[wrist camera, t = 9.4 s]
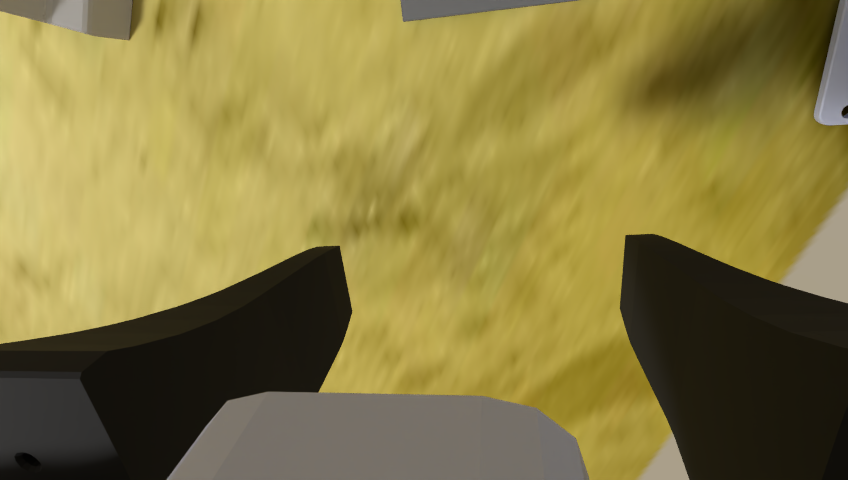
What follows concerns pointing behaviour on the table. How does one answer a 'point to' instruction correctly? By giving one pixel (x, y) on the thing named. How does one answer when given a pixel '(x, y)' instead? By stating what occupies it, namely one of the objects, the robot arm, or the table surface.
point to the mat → (461, 7)
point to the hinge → (77, 15)
